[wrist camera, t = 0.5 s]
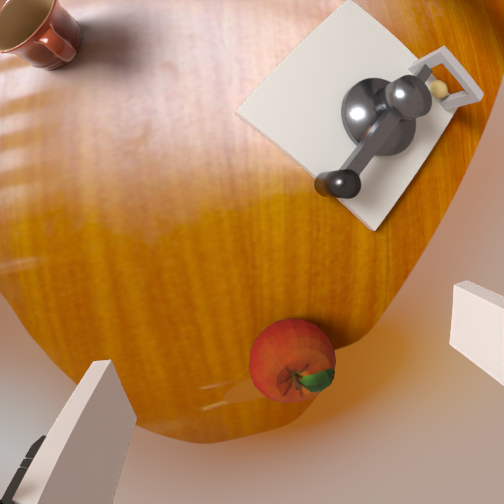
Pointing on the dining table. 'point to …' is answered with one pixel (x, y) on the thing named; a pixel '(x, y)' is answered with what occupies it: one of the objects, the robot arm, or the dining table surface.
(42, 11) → the mug
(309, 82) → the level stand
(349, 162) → the lever handle
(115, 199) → the dining table surface
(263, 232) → the dining table surface
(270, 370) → the fruit
